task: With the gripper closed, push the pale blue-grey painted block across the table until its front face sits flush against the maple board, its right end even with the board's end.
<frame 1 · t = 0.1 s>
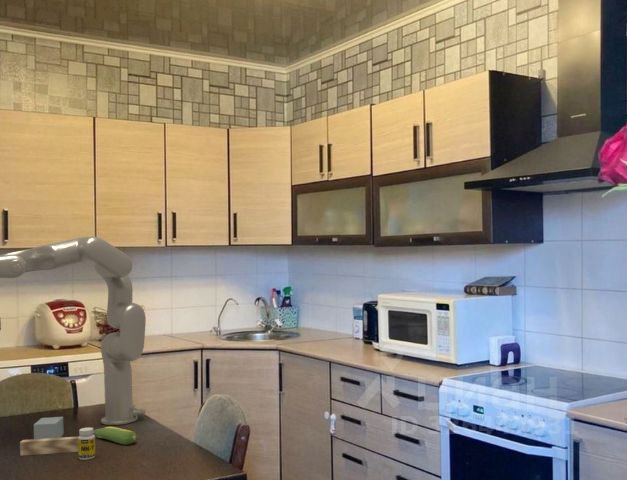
edible corn: (115, 442, 219), on the table
board: (55, 452, 208), on the table
supplement bottle: (87, 458, 201), on the table
block: (49, 438, 224), on the table
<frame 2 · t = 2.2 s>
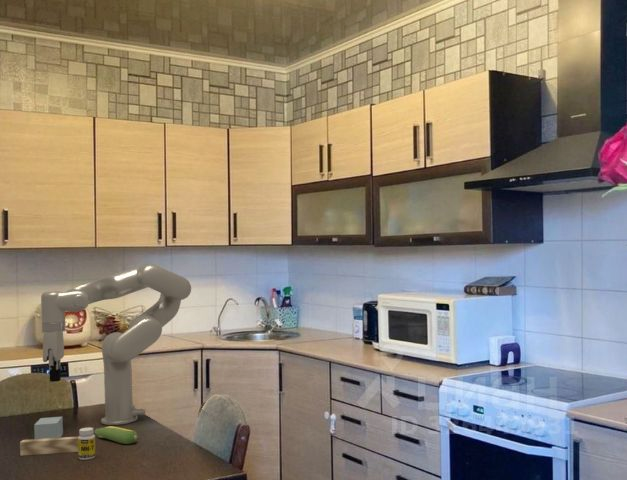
hand: (55, 380, 234), 17 cm above the table, tool pointing down, fingers closed
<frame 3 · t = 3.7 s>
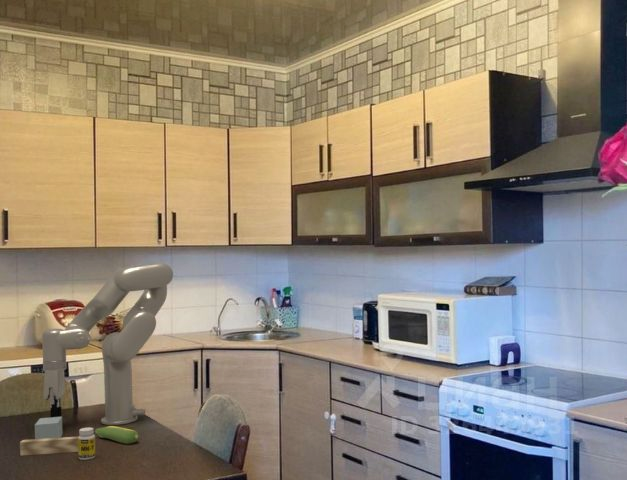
hand: (56, 418, 233), 4 cm above the table, tool pointing down, fingers closed
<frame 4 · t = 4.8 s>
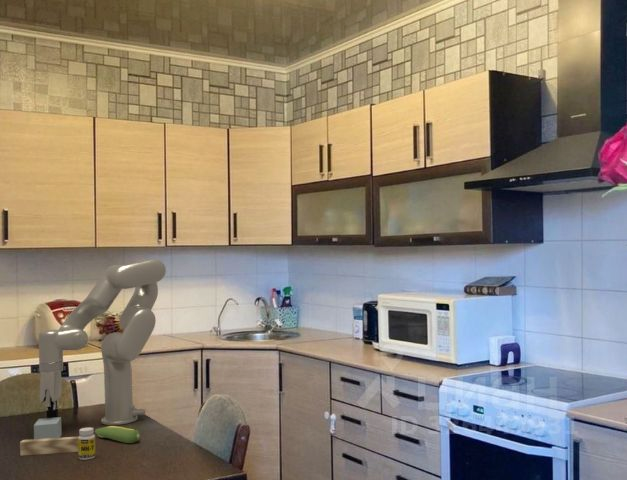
hand: (52, 421, 229), 4 cm above the table, tool pointing down, fingers closed
block: (48, 439, 223), on the table, touching gripper
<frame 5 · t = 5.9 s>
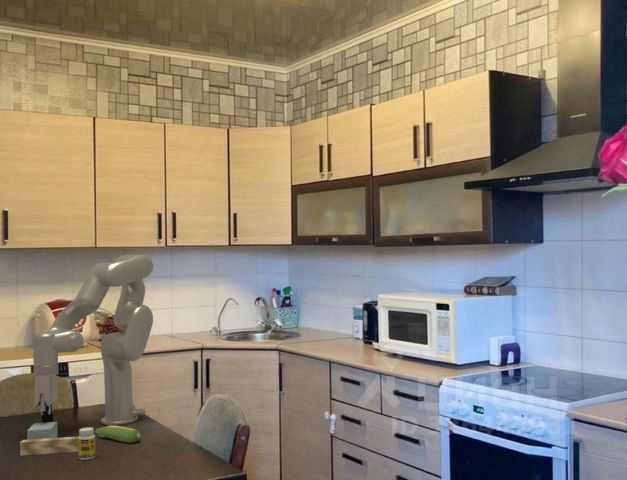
hand: (47, 426, 223), 4 cm above the table, tool pointing down, fingers closed
block: (43, 444, 217), on the table
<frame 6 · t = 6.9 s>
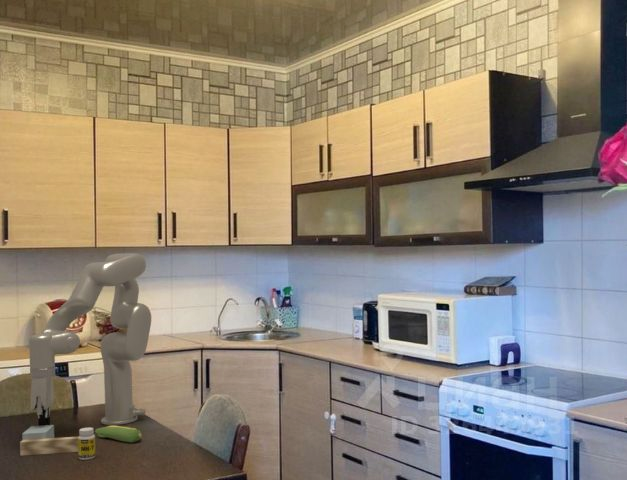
hand: (44, 429, 219), 4 cm above the table, tool pointing down, fingers closed
block: (39, 448, 213), on the table, touching board, gripper
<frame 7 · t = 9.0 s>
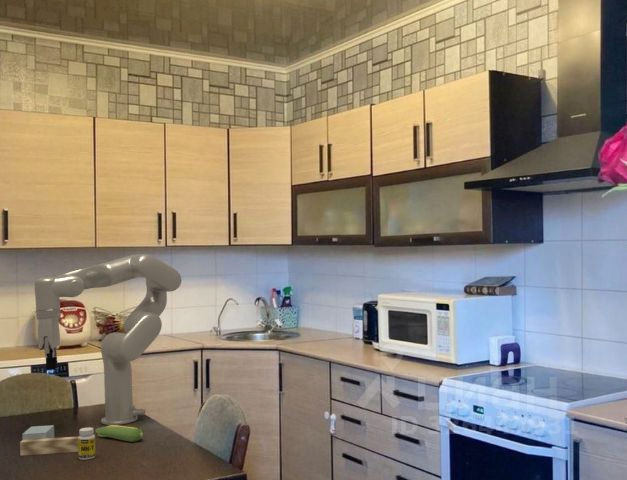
hand: (52, 369, 228), 22 cm above the table, tool pointing down, fingers closed
block: (39, 448, 213), on the table
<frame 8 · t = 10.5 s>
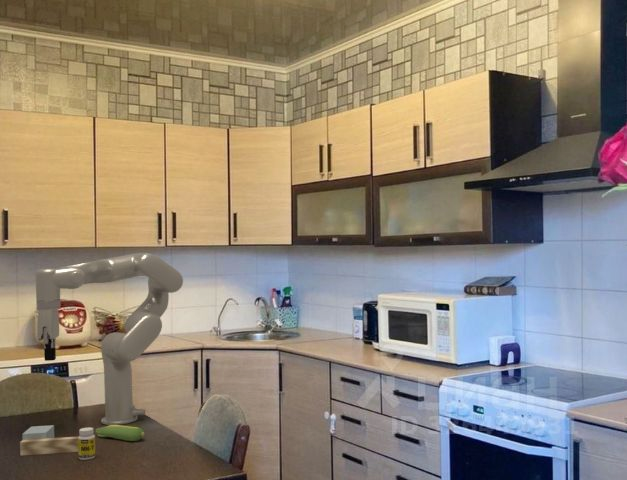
hand: (50, 360, 228), 25 cm above the table, tool pointing down, fingers closed
at the end: block 0.5 cm from the target spot on the table beside the board, on the table; block tilted 0°; block moved 11.2 cm from its start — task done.
